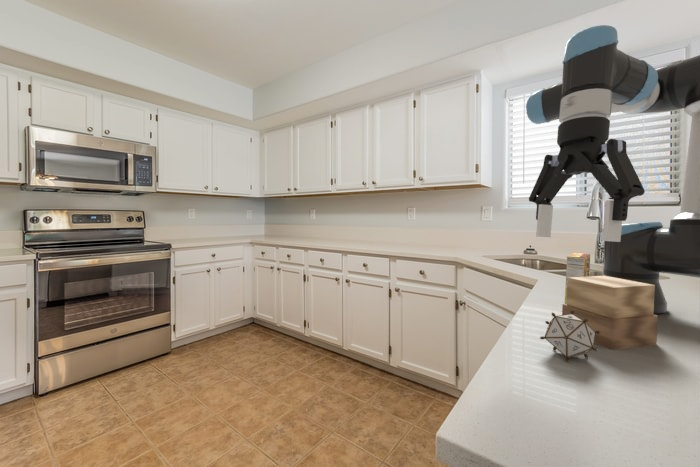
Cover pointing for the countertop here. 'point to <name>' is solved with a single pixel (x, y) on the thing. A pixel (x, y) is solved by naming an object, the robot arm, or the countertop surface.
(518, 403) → the countertop surface
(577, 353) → the game die
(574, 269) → the candy box
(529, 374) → the countertop surface
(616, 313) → the top block
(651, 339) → the bottom block
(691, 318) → the countertop surface
